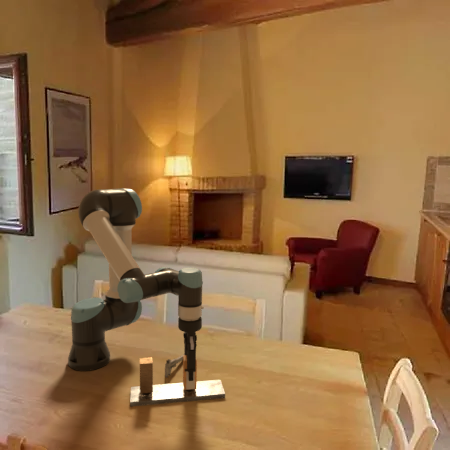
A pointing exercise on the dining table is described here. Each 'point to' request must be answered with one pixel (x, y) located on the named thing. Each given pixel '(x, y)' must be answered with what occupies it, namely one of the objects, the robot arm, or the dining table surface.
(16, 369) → the dining table surface
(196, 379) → the slide leg
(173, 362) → the caliper
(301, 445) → the dining table surface
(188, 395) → the bar
